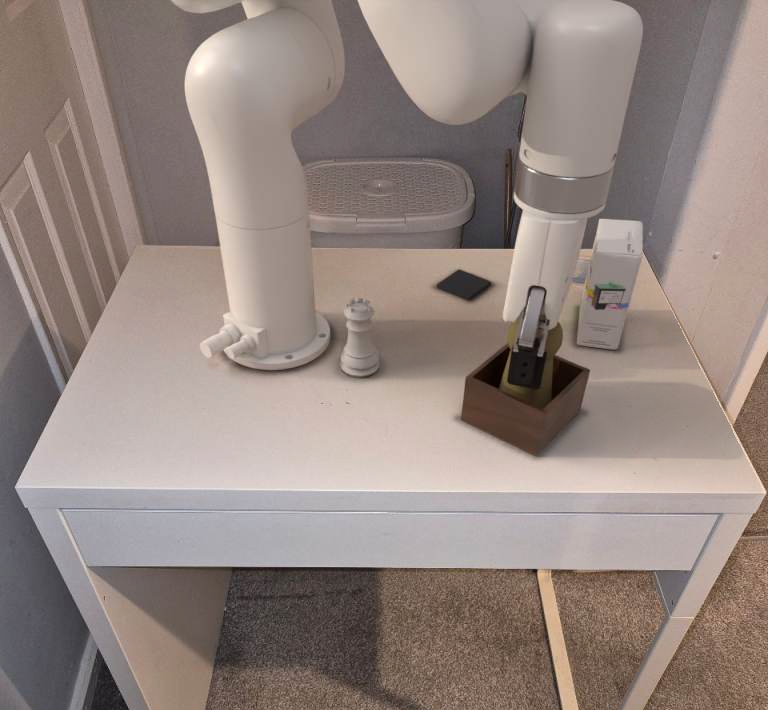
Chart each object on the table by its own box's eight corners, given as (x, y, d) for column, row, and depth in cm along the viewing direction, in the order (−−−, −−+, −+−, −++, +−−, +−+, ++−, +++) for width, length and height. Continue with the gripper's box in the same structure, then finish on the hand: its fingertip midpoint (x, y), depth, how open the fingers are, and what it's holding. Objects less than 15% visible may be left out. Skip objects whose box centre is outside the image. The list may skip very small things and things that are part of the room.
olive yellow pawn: (554, 432, 77) (575, 339, 69) (494, 431, 77) (508, 337, 69) (546, 395, 81) (565, 303, 73) (490, 394, 81) (502, 302, 73)
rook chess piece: (385, 360, 86) (385, 296, 80) (372, 382, 83) (372, 318, 77) (347, 352, 87) (345, 289, 81) (334, 374, 84) (331, 310, 78)
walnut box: (536, 456, 75) (544, 413, 71) (460, 419, 79) (465, 377, 75) (580, 412, 80) (590, 369, 76) (507, 379, 84) (513, 337, 80)
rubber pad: (468, 300, 95) (469, 297, 95) (436, 287, 97) (436, 284, 97) (490, 284, 98) (491, 281, 97) (458, 272, 100) (459, 269, 99)
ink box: (578, 307, 94) (598, 214, 86) (619, 312, 93) (643, 219, 85) (574, 345, 88) (596, 250, 80) (618, 351, 88) (644, 255, 79)
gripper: (536, 139, 68) (510, 316, 81) (493, 220, 57) (471, 411, 70) (620, 150, 67) (580, 329, 80) (594, 236, 55) (552, 428, 68)
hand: (529, 366), depth 75 cm, fingers closed on olive yellow pawn, 5 cm apart
